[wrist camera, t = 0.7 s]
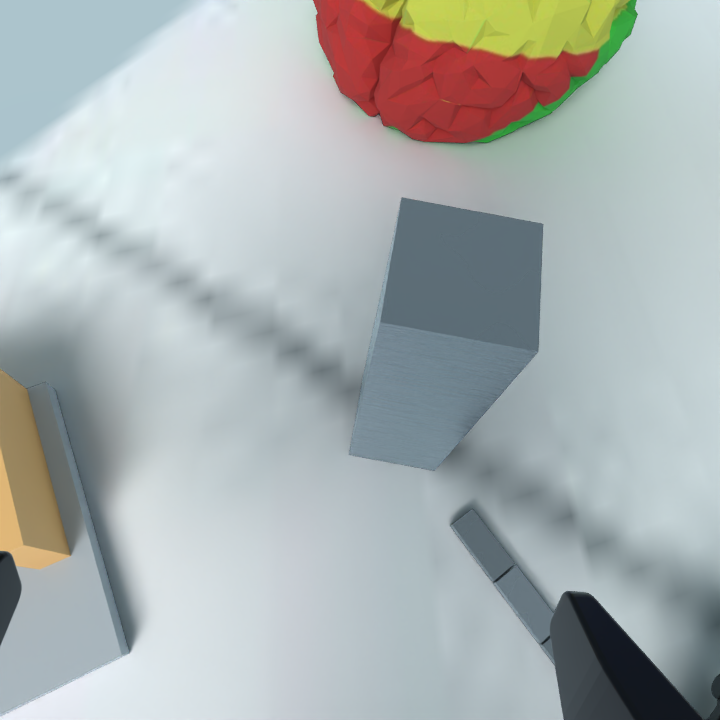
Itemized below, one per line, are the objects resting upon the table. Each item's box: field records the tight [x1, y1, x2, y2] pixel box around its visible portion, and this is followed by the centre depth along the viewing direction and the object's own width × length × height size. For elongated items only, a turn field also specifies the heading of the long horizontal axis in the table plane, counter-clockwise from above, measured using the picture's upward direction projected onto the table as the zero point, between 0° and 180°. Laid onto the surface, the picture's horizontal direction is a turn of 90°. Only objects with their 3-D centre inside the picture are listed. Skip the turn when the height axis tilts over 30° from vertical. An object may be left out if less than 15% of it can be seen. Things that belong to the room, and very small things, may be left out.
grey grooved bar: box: [450, 509, 555, 665], centre depth 23 cm, size 11×3×1 cm, turn 36°
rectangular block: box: [349, 198, 543, 471], centre depth 21 cm, size 4×4×13 cm
